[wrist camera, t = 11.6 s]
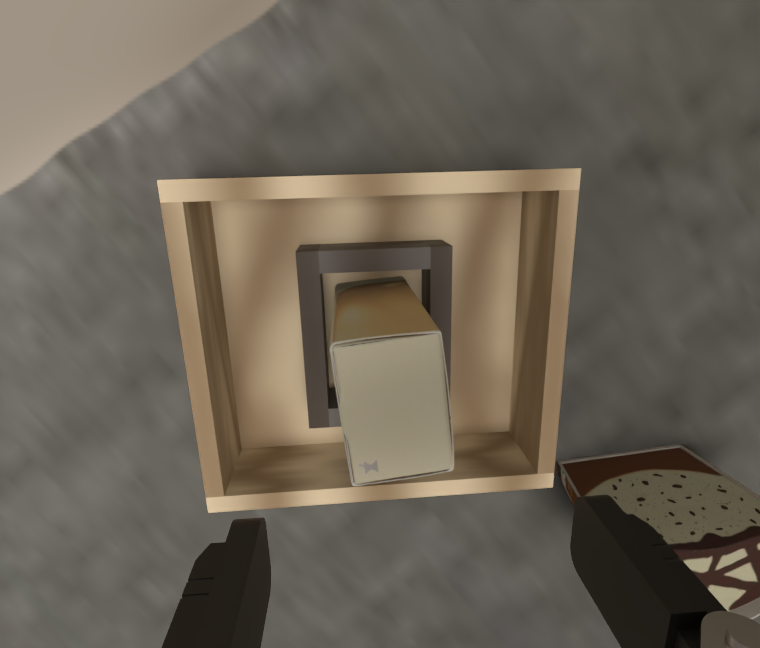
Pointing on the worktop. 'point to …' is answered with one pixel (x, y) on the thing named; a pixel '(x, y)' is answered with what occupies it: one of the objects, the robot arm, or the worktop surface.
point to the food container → (684, 513)
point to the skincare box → (390, 383)
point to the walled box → (315, 309)
